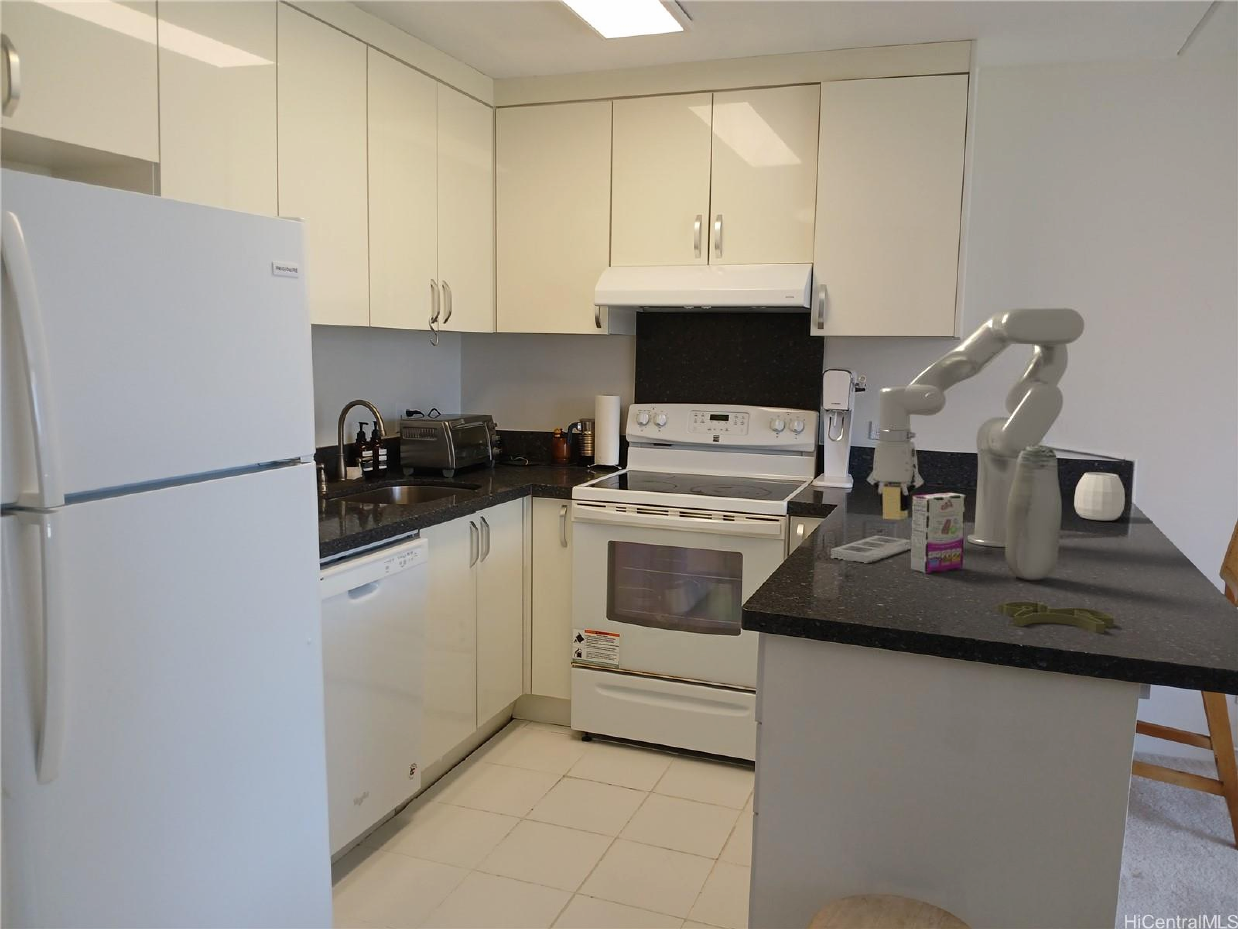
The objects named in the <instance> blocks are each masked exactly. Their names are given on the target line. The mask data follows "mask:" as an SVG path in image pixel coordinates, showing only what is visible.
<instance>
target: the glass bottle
mask: <svg viewBox="0 0 1238 929" xmlns="http://www.w3.org/2000/svg"><path fill="white" fill-rule="evenodd" d="M1058 474H1059V473H1058V457H1057V455H1056V452H1055V451H1054V450H1053V449H1052V448H1051V447H1049V446H1047V445H1043V444H1039V445H1031V446H1028V447H1026V448H1024V449H1023V450H1022V451H1021V453H1020V454H1019V457H1018V461H1017V468H1016V473H1015V478H1014V481H1013V484H1012V487H1011V490H1010V494H1009V498H1008V503H1007V517H1006V543H1005V547H1004V548H1005V550H1004V553H1005V561H1006V564H1007V567H1008V569H1009V570H1010V572H1011V573H1012V574H1013V575H1014V576H1016V577H1018V578H1020V579H1023V580H1027V581H1038V580H1042V579H1045V578H1047V577H1048V576H1050V574H1052V573H1053V571H1054V570H1055V568H1056V565H1057V562H1058V558H1059V549H1060V548H1059V547H1060V546H1059V545H1060V533H1061V524H1062V513H1063V512H1062V508H1063V506H1062V505H1063V504H1062V496H1061V495H1062V494H1061V490H1060V489H1061V488H1060V484H1059V477H1058Z"/></svg>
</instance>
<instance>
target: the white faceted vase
mask: <svg viewBox="0 0 1238 929" xmlns="http://www.w3.org/2000/svg"><path fill="white" fill-rule="evenodd" d="M1125 497H1126V496H1125V487H1124V485H1123V482H1122V481H1121V478H1120V477H1119V474H1114V473H1107V472H1094V471H1093V472H1085V473H1084V474H1083V475H1082V477H1081V478H1080V480H1079V481H1078V483H1077V485H1076V487H1075V493H1074V501H1073V502H1074V503H1073V506H1074V509H1075V512H1076V514H1078V516H1079V517H1080V518H1083V519H1086V520H1089V521H1097V522H1107V521H1115V520H1117V519H1118V518H1119V517H1120V516H1121V515H1122V513H1123V511H1124V509H1125V501H1126V498H1125Z"/></svg>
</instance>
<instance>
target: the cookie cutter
mask: <svg viewBox="0 0 1238 929" xmlns="http://www.w3.org/2000/svg"><path fill="white" fill-rule="evenodd" d="M996 603H997V604H996V612H997V613H998V612H999V614H1002V613H1004V614H1005V615H1004V614H1003V615H1004V616H1008V617H1013V616H1014V617H1013V621H1012V622H1013V623H1012V624H1013V626H1016V627H1022V626H1023V627H1025V626H1028V625H1030V624H1036V623H1039V624H1040V623H1052V624H1060V625H1061V624H1062V625H1069V626H1073V627H1078V628H1082V629H1085V630H1088V631H1090V632H1092V633H1095V634H1105V629H1106V628H1112V629H1113V628H1114V620H1115V618H1114V617H1113V616H1112V615H1110V614H1108V613H1106V612H1104V611H1100V610H1095V609H1091V608H1090V609H1089V608H1084V607H1063V608H1061V607H1060V608H1051V607H1050V605H1045V604H1042V603H1040V602H1037V601H1036V602H1035V601H1023V600H1021V601H1018V600H1017V601H1008V602H1004V603H1003V602H999V603H998V602H996ZM1033 612H1035V613H1033Z"/></svg>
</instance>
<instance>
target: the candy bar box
mask: <svg viewBox="0 0 1238 929" xmlns="http://www.w3.org/2000/svg"><path fill="white" fill-rule="evenodd" d="M911 509H912V510H911V511H912V512H911V536H910V538H911V539H910V540H911V549H910V566H909V567H910V570H912V571H914V572H918V573H921V572H922V574H926V573H928V574H933V573H932V572H936V573H941V572H943V573H944V572H948V571H949V570H950V571H955V570H962V569H963V568H964V566H963V564H964V562H963V561H964V560H963V559H964V557H963V556H964V538H965V537H964V536H965V534H964V533H965V531H964V530H965V512H966V510H965V509H966V495H965V494H961V493H954V492H945V493H944V492H943V493H933V494H921V495H919V494H918V495H912V507H911ZM950 571H949V572H950Z"/></svg>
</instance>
